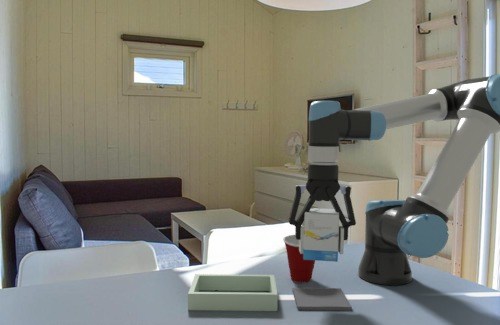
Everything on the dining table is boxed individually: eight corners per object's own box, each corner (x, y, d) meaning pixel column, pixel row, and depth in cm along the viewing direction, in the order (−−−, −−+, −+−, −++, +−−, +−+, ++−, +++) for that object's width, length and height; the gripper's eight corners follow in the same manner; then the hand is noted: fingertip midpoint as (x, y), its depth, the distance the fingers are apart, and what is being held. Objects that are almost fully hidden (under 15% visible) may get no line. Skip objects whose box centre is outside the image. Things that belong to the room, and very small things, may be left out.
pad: (340, 291, 120) (340, 288, 120) (351, 310, 107) (351, 307, 107) (292, 290, 120) (292, 287, 120) (297, 309, 107) (297, 306, 107)
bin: (273, 289, 121) (274, 275, 121) (277, 311, 107) (277, 294, 106) (195, 288, 121) (195, 274, 121) (187, 310, 106) (187, 293, 106)
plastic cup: (289, 287, 123) (290, 244, 123) (277, 275, 134) (278, 235, 133) (326, 284, 126) (327, 242, 125) (311, 272, 136) (312, 233, 136)
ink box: (338, 262, 108) (339, 214, 107) (302, 260, 110) (303, 212, 109) (338, 253, 117) (339, 208, 116) (305, 251, 118) (306, 207, 117)
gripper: (363, 163, 116) (360, 249, 117) (278, 162, 115) (276, 248, 117) (371, 165, 108) (368, 257, 109) (280, 163, 108) (278, 255, 109)
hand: (321, 252), depth 113 cm, fingers closed on ink box, 9 cm apart
